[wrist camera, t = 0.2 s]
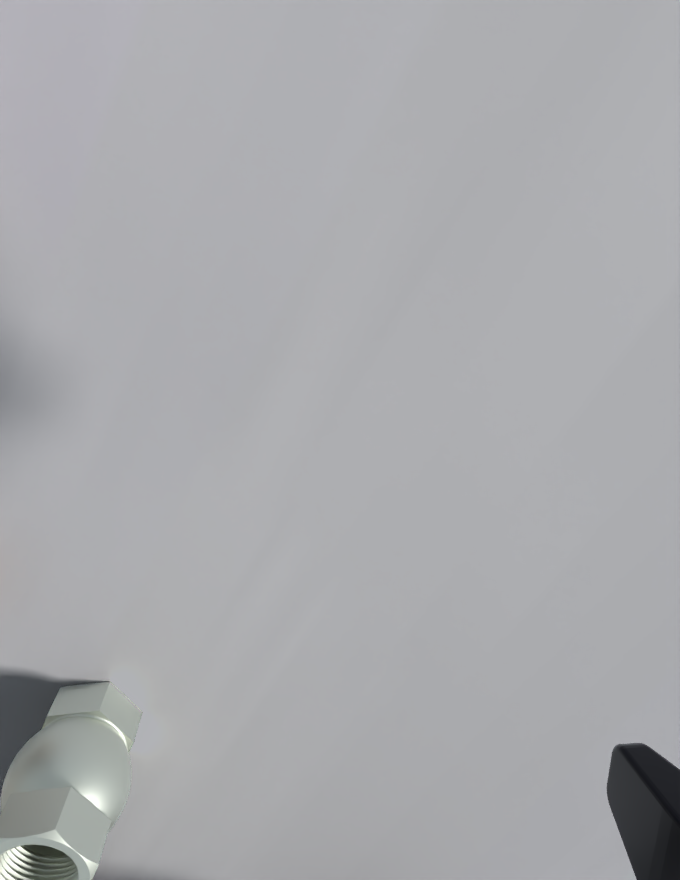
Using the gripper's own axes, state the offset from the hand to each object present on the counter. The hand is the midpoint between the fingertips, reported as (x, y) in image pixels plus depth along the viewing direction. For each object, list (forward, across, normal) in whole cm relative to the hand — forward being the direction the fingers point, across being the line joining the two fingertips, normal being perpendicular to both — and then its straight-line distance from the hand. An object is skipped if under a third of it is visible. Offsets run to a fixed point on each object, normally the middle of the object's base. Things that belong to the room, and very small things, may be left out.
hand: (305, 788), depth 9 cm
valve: (+15, +10, +15) cm, 23 cm away
